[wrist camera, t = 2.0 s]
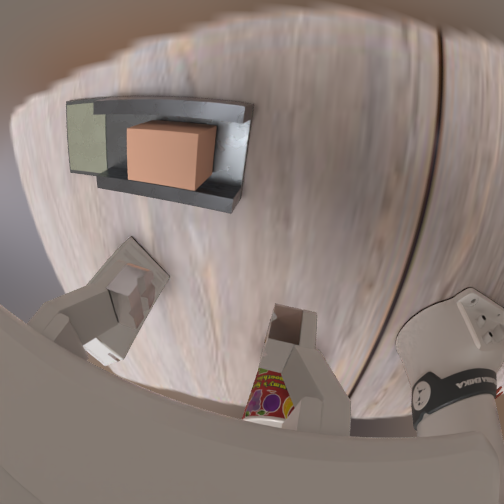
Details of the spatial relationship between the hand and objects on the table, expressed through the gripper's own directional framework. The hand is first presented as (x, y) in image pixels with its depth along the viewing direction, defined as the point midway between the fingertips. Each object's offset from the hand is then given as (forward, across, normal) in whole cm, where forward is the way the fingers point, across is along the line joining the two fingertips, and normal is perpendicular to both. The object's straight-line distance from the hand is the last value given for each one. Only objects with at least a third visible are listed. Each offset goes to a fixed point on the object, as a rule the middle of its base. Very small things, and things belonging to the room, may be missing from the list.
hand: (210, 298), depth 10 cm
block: (+19, +10, 0) cm, 21 cm away
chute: (+19, +15, 0) cm, 24 cm away
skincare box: (+19, +16, +18) cm, 31 cm away
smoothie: (+19, -7, +28) cm, 35 cm away
